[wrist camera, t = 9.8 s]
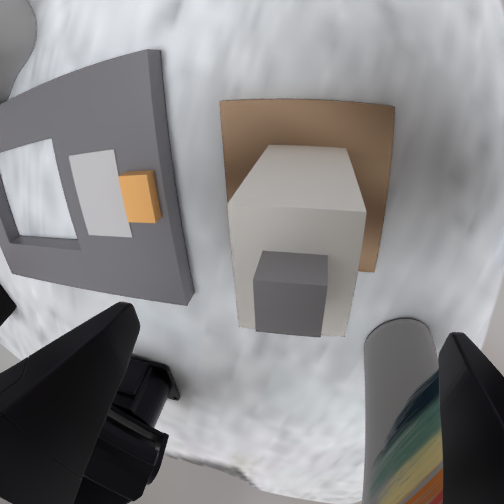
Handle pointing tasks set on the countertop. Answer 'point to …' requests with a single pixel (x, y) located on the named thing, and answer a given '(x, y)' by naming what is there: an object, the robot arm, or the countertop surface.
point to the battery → (5, 306)
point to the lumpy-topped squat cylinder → (15, 41)
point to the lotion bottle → (402, 416)
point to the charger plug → (297, 241)
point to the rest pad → (316, 134)
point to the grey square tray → (103, 182)
